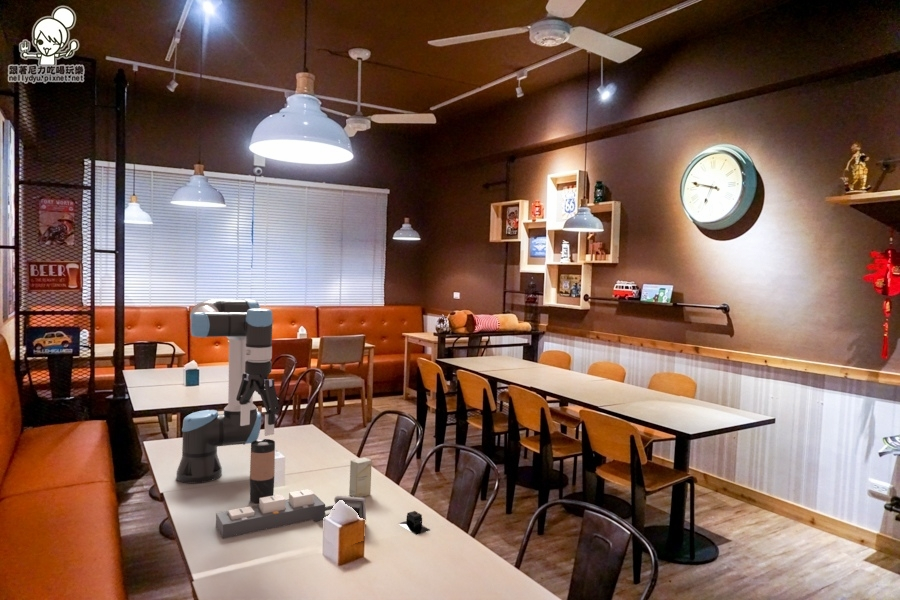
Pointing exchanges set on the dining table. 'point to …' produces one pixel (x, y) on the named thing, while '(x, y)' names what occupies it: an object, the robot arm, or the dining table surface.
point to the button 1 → (240, 513)
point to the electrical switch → (354, 504)
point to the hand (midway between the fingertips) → (256, 429)
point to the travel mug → (262, 469)
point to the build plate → (414, 523)
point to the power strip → (270, 518)
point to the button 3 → (301, 498)
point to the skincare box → (360, 477)
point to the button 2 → (271, 503)
